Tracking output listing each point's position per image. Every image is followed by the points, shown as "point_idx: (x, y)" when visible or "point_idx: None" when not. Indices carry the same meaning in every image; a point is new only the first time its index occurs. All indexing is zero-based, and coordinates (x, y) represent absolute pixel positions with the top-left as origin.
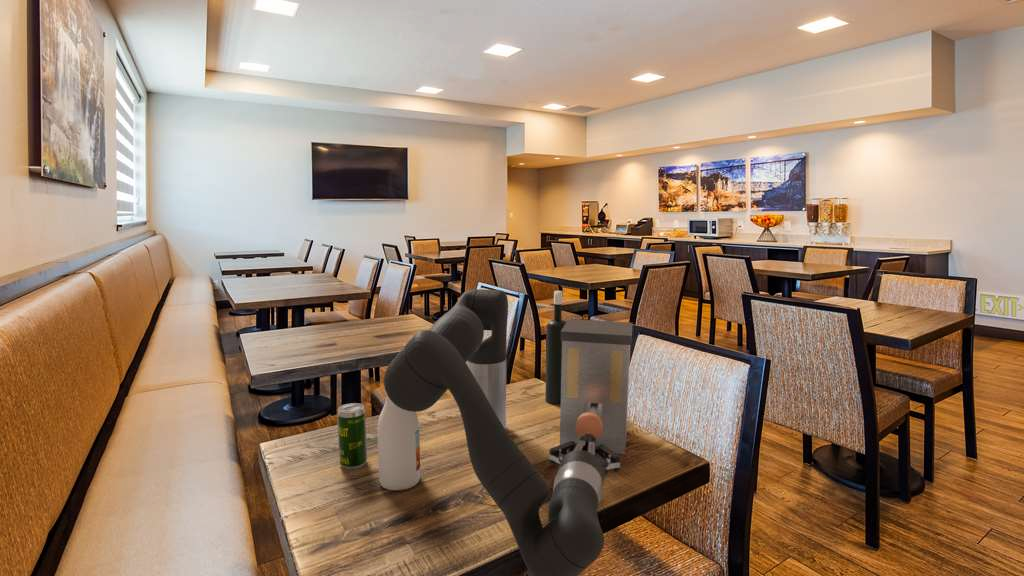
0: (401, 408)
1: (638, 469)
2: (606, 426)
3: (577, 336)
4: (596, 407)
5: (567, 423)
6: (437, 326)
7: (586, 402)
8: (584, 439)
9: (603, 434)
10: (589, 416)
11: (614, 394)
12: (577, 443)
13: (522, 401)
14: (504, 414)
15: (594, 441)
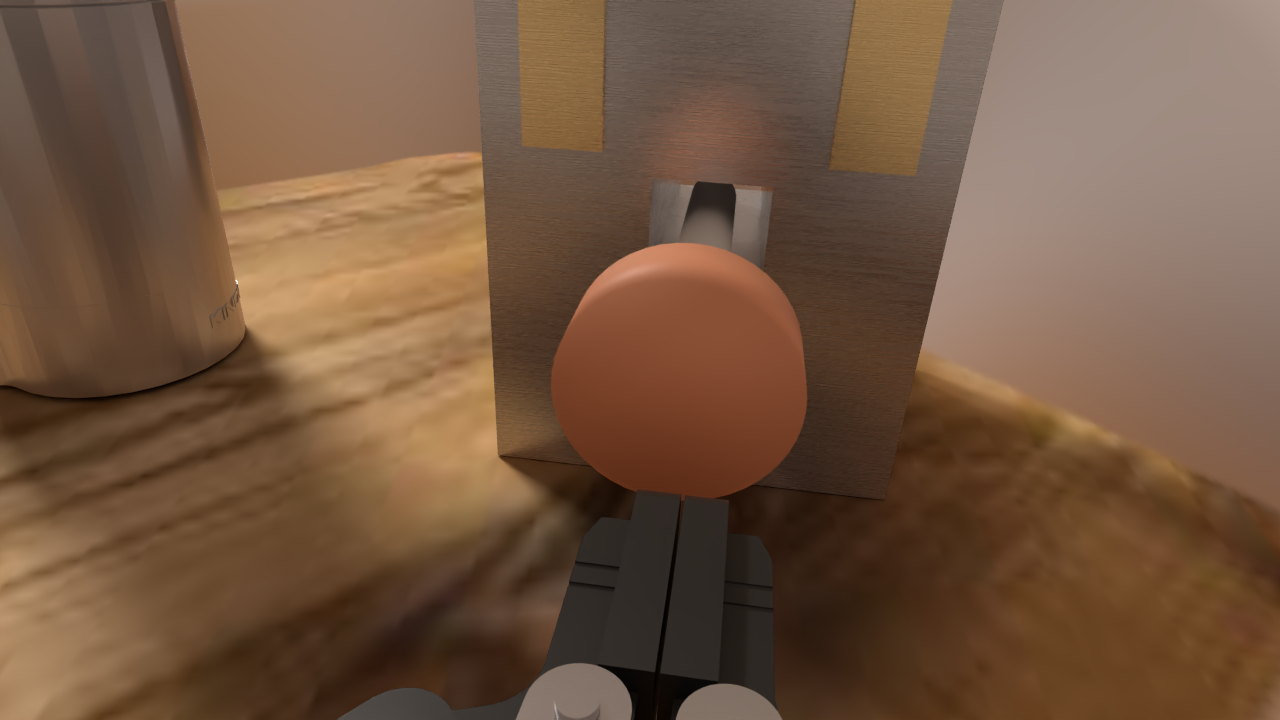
0: None
1: (1015, 645)
2: None
3: None
4: (729, 217)
5: (536, 323)
6: None
7: (662, 190)
8: (617, 620)
9: None
10: (689, 283)
11: (876, 113)
12: (504, 706)
13: (404, 216)
14: (197, 268)
15: (758, 633)
